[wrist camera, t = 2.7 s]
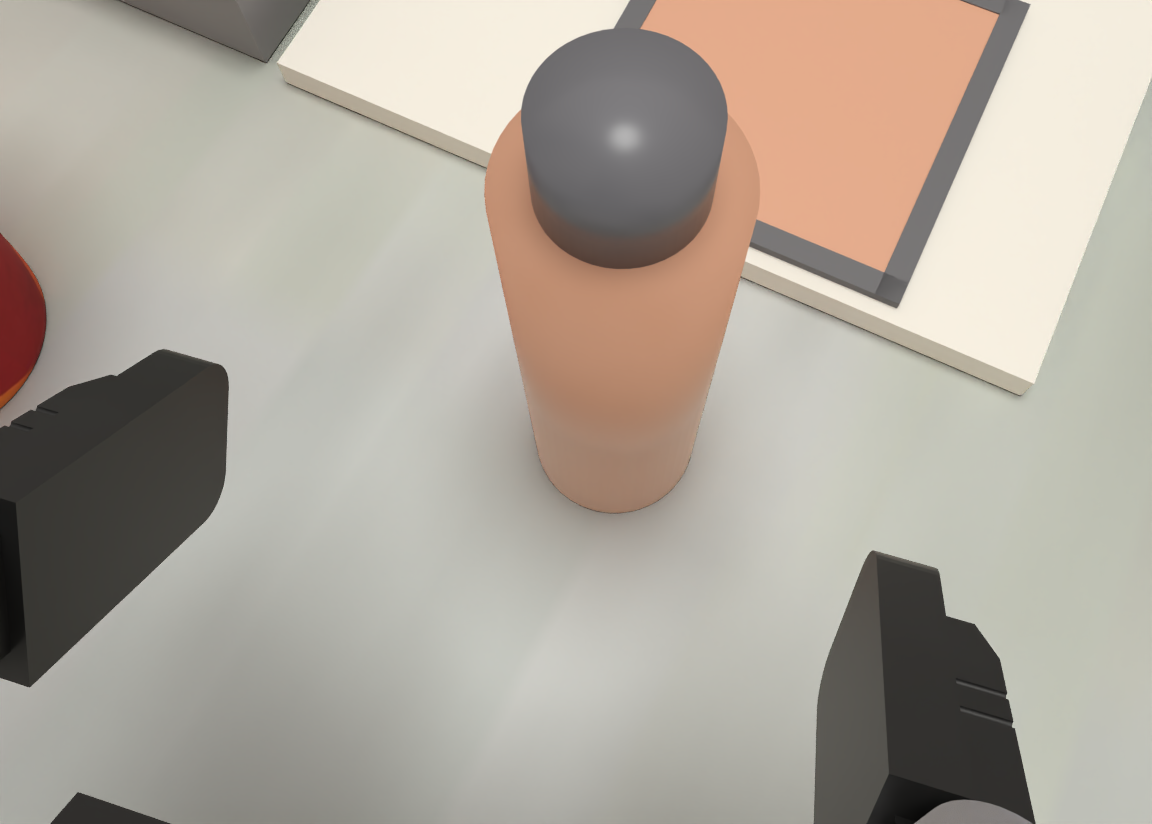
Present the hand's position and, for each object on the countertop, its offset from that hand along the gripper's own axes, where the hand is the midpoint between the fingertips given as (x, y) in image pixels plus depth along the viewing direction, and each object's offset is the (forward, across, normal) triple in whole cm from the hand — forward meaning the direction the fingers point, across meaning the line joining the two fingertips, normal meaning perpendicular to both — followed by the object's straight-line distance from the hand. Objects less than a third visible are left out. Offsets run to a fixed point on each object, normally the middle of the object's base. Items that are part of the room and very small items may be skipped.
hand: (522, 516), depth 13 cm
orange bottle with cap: (+11, 0, +4) cm, 12 cm away
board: (+19, 0, -4) cm, 20 cm away
